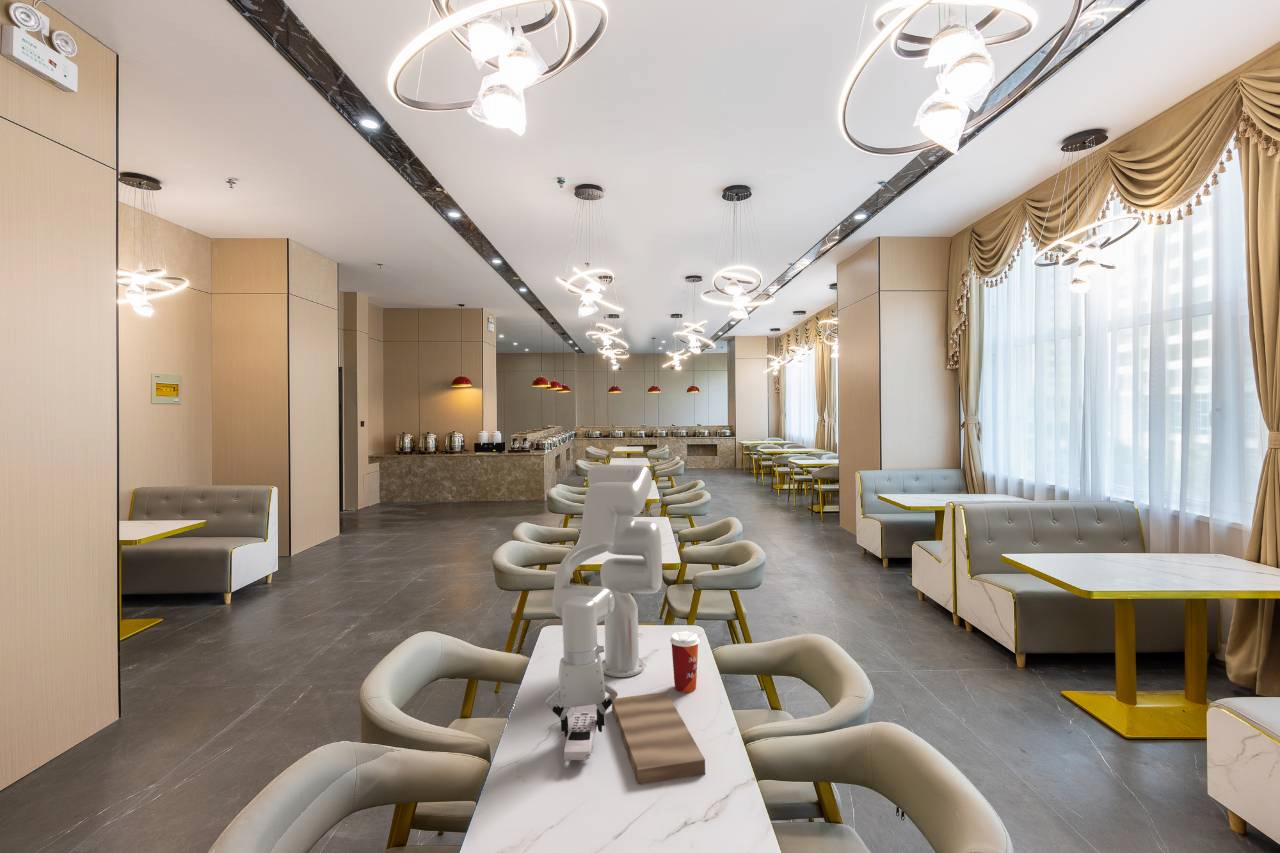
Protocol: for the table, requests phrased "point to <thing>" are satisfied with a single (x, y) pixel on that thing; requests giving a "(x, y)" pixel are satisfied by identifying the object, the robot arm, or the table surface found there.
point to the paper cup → (685, 660)
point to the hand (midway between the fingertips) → (582, 730)
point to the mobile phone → (581, 734)
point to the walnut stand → (656, 738)
